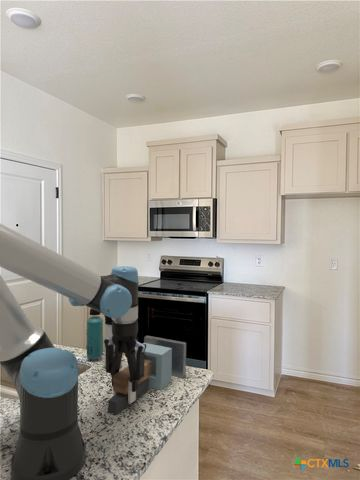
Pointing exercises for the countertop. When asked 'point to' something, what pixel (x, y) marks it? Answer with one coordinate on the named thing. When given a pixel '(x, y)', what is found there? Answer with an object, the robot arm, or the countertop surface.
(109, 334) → the travel mug
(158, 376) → the socket block
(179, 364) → the wall
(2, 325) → the robot arm
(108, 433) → the countertop surface
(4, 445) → the countertop surface
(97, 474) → the countertop surface
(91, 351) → the teal cylinder
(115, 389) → the brown block
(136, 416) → the countertop surface
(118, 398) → the rail
